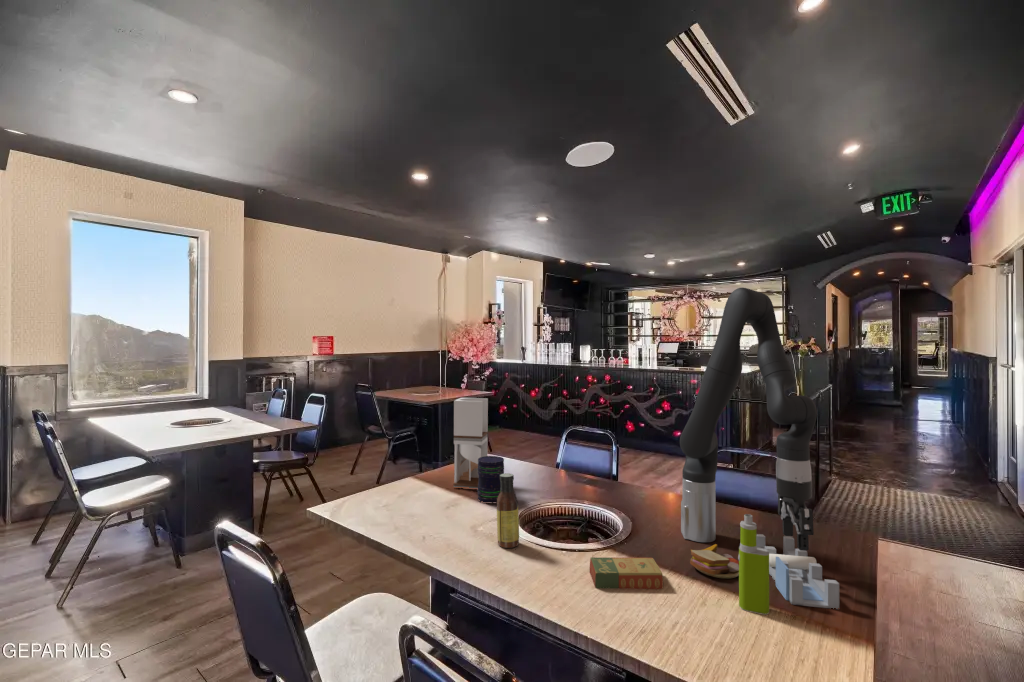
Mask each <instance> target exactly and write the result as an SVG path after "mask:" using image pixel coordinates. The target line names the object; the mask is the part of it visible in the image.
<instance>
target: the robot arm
mask: <svg viewBox="0 0 1024 682" xmlns="http://www.w3.org/2000/svg"><path fill="white" fill-rule="evenodd" d="M776 317H777V316H776V312H775V307H774V305H773V302H772V299H771V298H770V297H769V295H767V294H765V293H763V292H760V291H757V290H755V289H754V290H753V289H750V288H746V287H737V288H736V289H734V290H733V291H731V293H730V294H729V296H728V297H727V300H726V302H725V305H724V308H723V313H722V317H721V320H720V325H719V330H718V332H717V333H718V334H717V336H716V340H715V342H714V345H713V348H712V351H711V354H710V357H709V359H708V362H707V365H706V368H705V371H704V374H703V376H702V379H701V382H700V387H699V389H698V391H697V395H696V399H695V403H694V406H693V409H692V411H691V413H690V416H689V417H688V420H687V422H686V424H685V426H684V428H683V430H682V432H681V434H680V437H679V446H680V449H681V452H682V453H683V454H684V455H685V461H684V465H683V466H682V472H681V474H682V487H681V488H682V492H681V493H682V497H681V498H682V499H681V501H680V532H681V535H682V536H683V539H684V540H690V541H693V542H698V543H712V542H714V541H715V540H716V477H717V476H716V474H717V471H718V458H719V457H718V455H719V454H718V453H719V447H718V446H719V444H718V443H719V442H718V437H717V434H716V432H715V430H716V427H717V424H718V422H719V421H718V420H719V419H720V417H721V415H722V413H723V411H724V410H725V408H726V407H727V405H728V404H729V401H731V399H732V397H733V395H734V393H735V390H736V389H737V386H738V383H739V381H740V378H741V376H742V375H741V374H742V372H743V358H742V352H741V338H742V335H743V330H744V327H745V326H746V323H747V324H750V326H751V327H752V329H753V331H754V333H755V335H756V339H757V344H758V345H757V352H756V353H757V354H756V362H757V365H758V368H759V372H760V374H761V377H762V379H763V382H764V385H765V395H766V397H765V398H766V410H767V414H768V417H770V419H771V420H772V421H773V422H774V423H776V424H778V425H783V426H784V425H791V427H790V429H789V430H788V431H785V432H782V433H780V434H778V435H777V437H776V461H775V478H776V479H775V480H776V483H775V484H776V487H775V488H776V493H777V513H778V515H779V516H780V519H781V521H782V535H784V536H790V537H794V526H795V530H796V545H797V546H796V547H797V548H796V549H799V550H803V551H807V552H808V551H809V549H810V548H809V546H810V545H809V536H814V535H815V534H814V533H815V532H814V529H815V528H814V518H813V516H814V514H813V513H814V511H813V509H812V508H808V507H807V505H806V500H809V499H812V498H813V483H812V481H813V480H812V479H813V477H812V465H811V458H810V457H811V455H810V451H811V450H810V449H811V448H810V442H811V439H812V437H813V432H814V428H815V426H816V421H817V419H818V418H817V417H818V410H817V406H816V404H815V402H814V401H813V399H812V398H811V397H809V396H807V395H786V393H785V391H788V390H789V389H792V388H793V387H795V385H796V384H797V379H796V376H795V373H794V372H793V369H792V366H791V364H790V362H789V360H788V357H787V355H786V352H785V350H784V346H783V343H782V340H781V336H780V331H779V327H778V322H777V318H776Z"/></svg>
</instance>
